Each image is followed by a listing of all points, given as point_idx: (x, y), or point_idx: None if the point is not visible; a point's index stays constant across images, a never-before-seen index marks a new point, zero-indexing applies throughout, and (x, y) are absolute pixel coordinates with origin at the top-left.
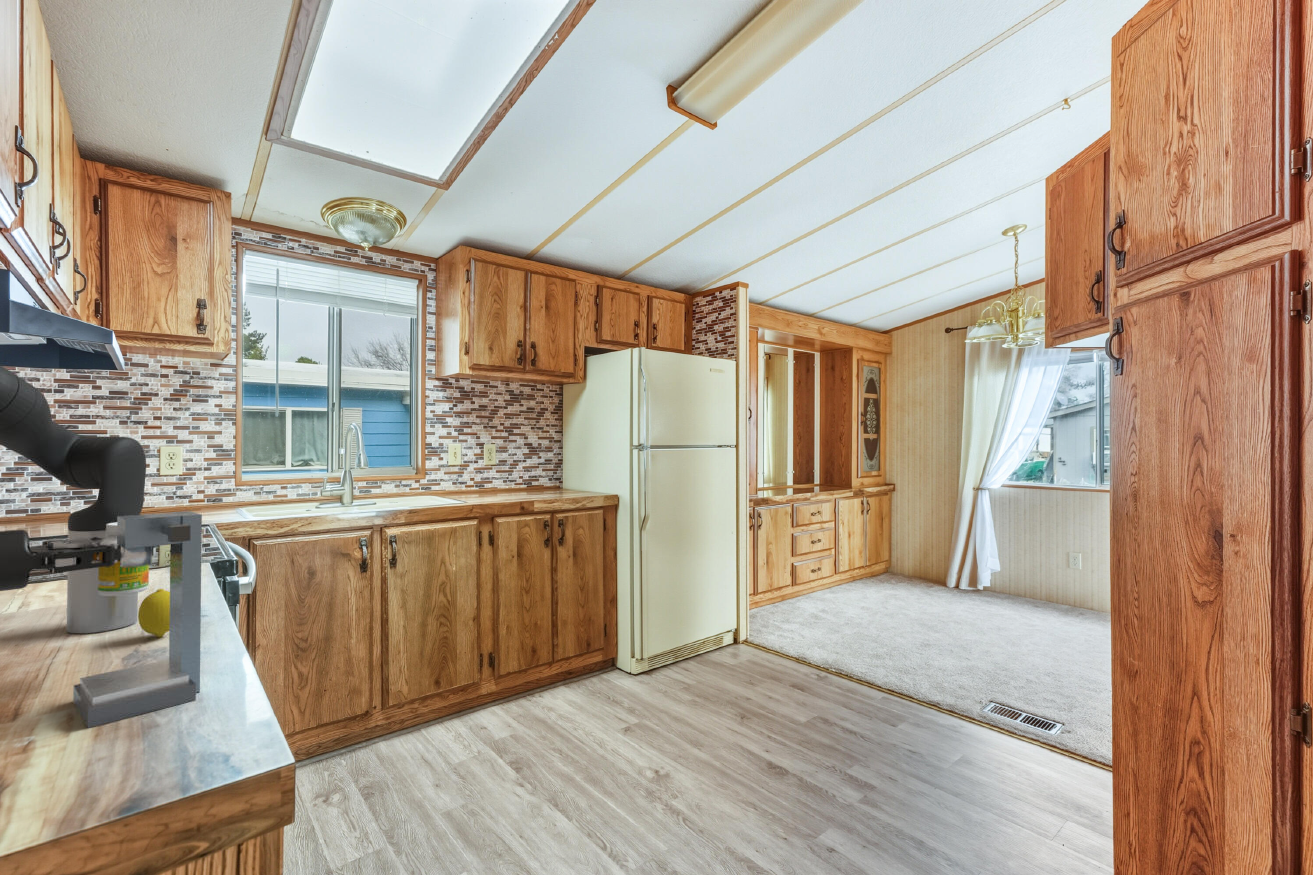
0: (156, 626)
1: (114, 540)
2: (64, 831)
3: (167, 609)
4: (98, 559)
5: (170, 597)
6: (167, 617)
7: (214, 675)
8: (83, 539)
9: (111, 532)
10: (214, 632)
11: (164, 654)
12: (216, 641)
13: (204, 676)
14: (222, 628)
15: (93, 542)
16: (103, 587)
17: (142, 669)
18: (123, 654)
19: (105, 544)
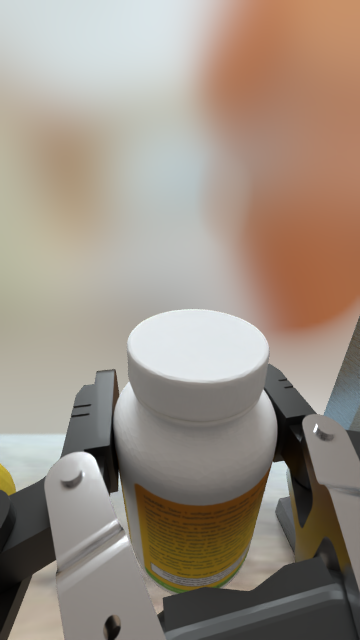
0: None
1: (256, 418)
2: None
3: (6, 484)
4: (303, 523)
5: (356, 420)
6: (13, 493)
7: (282, 462)
8: (141, 575)
9: (256, 398)
10: (56, 450)
11: (124, 524)
12: None
13: (282, 473)
14: (44, 439)
15: (350, 493)
16: (239, 565)
17: None
18: (51, 611)
19: (264, 459)
